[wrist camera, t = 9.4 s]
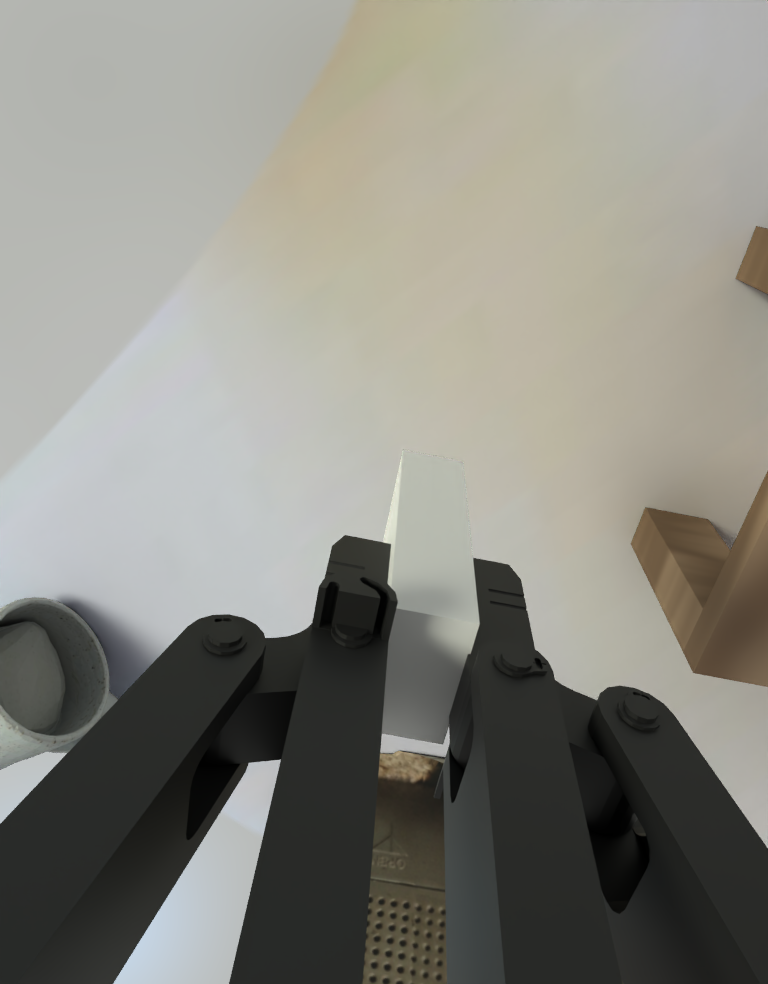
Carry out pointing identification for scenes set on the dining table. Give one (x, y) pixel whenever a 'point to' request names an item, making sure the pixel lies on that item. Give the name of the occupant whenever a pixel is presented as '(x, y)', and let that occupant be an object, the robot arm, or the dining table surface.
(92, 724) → the ceramic mug
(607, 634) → the dining table surface
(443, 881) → the radio
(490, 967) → the robot arm
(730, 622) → the bridge
